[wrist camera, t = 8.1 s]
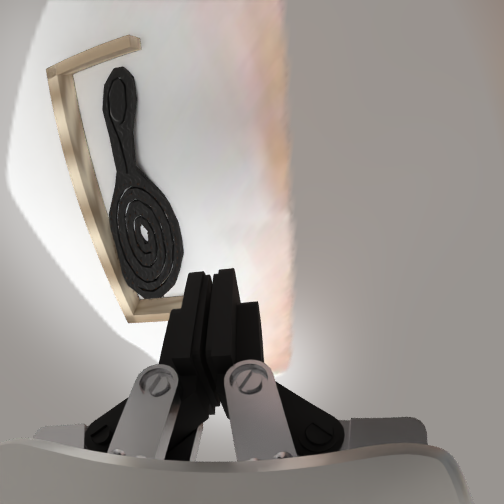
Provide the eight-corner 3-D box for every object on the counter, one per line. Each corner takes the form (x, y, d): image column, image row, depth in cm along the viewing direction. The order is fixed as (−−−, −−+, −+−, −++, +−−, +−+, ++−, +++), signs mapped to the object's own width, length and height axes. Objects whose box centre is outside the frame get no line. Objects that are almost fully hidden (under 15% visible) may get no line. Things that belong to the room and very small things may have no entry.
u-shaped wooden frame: (61, 68, 23) (45, 68, 20) (139, 38, 22) (128, 34, 20) (134, 307, 38) (128, 323, 36) (200, 302, 38) (197, 318, 35)
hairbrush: (152, 56, 21) (185, 303, 33) (163, 60, 25) (190, 284, 36) (71, 77, 21) (117, 303, 33) (89, 77, 25) (127, 285, 36)
